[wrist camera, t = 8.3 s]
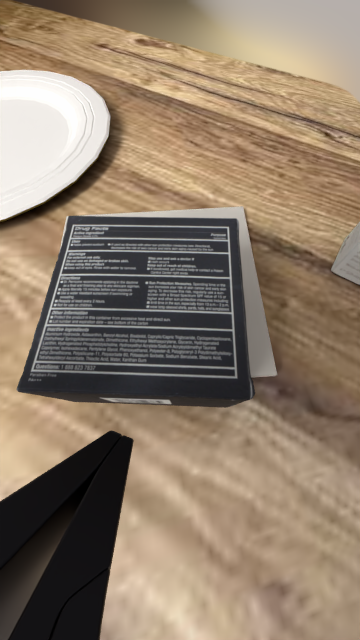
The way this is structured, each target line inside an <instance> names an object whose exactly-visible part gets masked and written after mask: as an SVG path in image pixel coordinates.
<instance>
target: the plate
mask: <svg viewBox="0 0 360 640" xmlns="http://www.w3.org/2000/svg"><path fill="white" fill-rule="evenodd" d="M110 121H111V117H110V114H109V111H108V108H107V106H106V103H105V101H104V99H103V98H102V97H101V96H100V95H99V94H98V93H97V92H96V91H95V90H94V89H93V88H92V87H91V86H89V85H87V84H85V83H83V82H81V81H79V80H77V79H75V78H73V77H70V76H66V75H62V74H57V73H53V72H49V71H34V70H14V71H1V72H0V222H2V221H6V220H9V219H11V218H13V217H15V216H17V215H20V214H22V213H24V212H26V211H29V210H31V209H33V208H35V207H38V206H40V205H42V204H44V203H46V202H48V201H49V200H51V199H52V198H53V197H55V196H56V195H58V194H59V193H61V192H62V191H64V190H65V189H67V188H68V187H70V186H71V185H73V184H74V183H75V182H77V181H78V180H79V179H80V178H81V176H82V175H83V174H84V173H85V172H86V171H87V170H88V169H89V168H90V167H91V166H92V165H93V164H94V163H95V162H96V161H97V160H98V158H99V156H100V154H101V152H102V150H103V148H104V146H105V144H106V142H107V140H108V138H109V132H110Z"/></svg>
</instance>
